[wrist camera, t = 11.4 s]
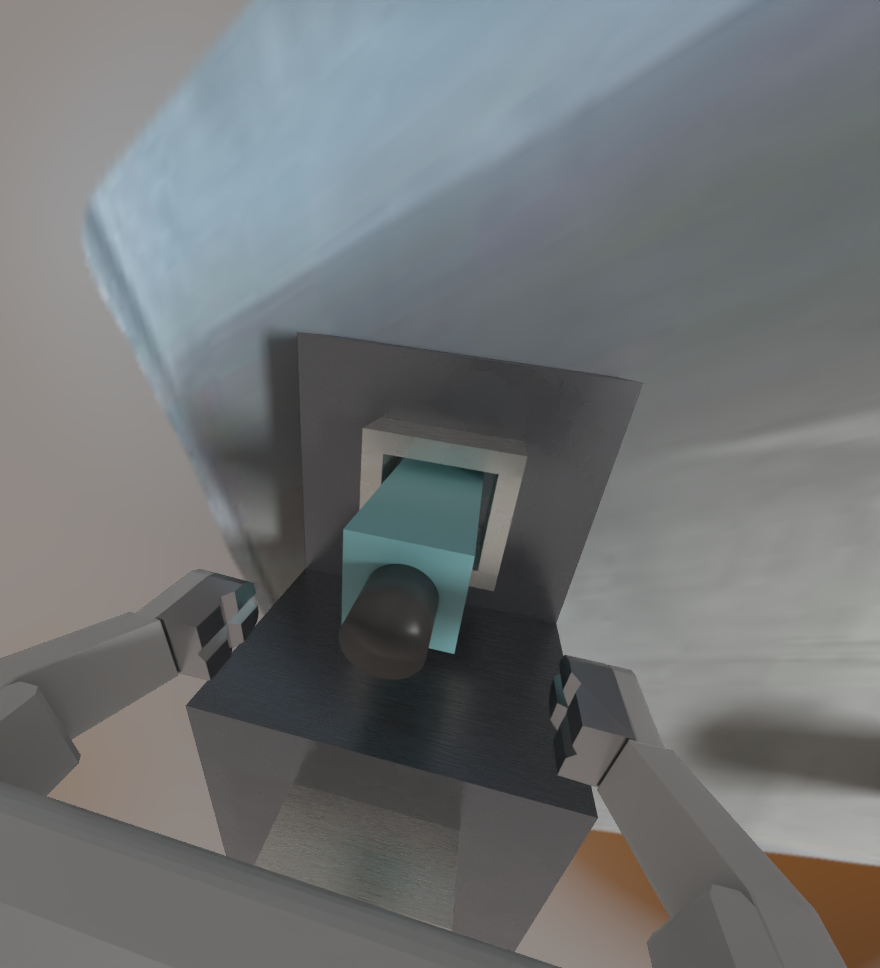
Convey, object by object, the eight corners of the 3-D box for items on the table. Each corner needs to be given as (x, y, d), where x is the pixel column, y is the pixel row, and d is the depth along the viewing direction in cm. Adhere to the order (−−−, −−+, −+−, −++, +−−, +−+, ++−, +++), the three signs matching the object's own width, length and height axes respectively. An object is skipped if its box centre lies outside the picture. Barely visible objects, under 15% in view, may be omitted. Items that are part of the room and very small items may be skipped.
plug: (408, 452, 17) (308, 569, 8) (484, 466, 17) (469, 605, 8) (401, 531, 19) (312, 698, 10) (469, 545, 19) (442, 731, 10)
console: (326, 334, 19) (-101, 298, 5) (619, 377, 17) (1050, 476, 4) (328, 674, 30) (191, 937, 16) (506, 718, 28) (513, 1049, 15)
